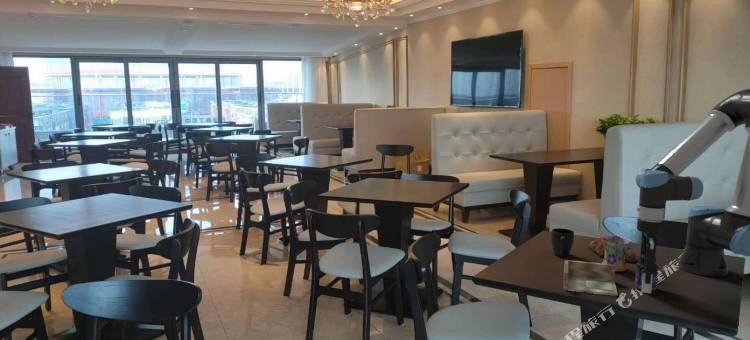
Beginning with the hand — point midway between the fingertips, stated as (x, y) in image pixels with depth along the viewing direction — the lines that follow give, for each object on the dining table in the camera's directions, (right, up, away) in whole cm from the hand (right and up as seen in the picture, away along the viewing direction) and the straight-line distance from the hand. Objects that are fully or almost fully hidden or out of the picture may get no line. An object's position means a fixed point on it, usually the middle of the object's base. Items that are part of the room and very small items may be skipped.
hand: (644, 288), depth 173 cm
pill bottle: (0, 0, 0) cm, 1 cm away
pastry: (+5, +5, +36) cm, 36 cm away
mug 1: (-15, +5, +34) cm, 37 cm away
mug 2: (-1, +3, +20) cm, 21 cm away
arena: (-17, 0, +3) cm, 17 cm away
